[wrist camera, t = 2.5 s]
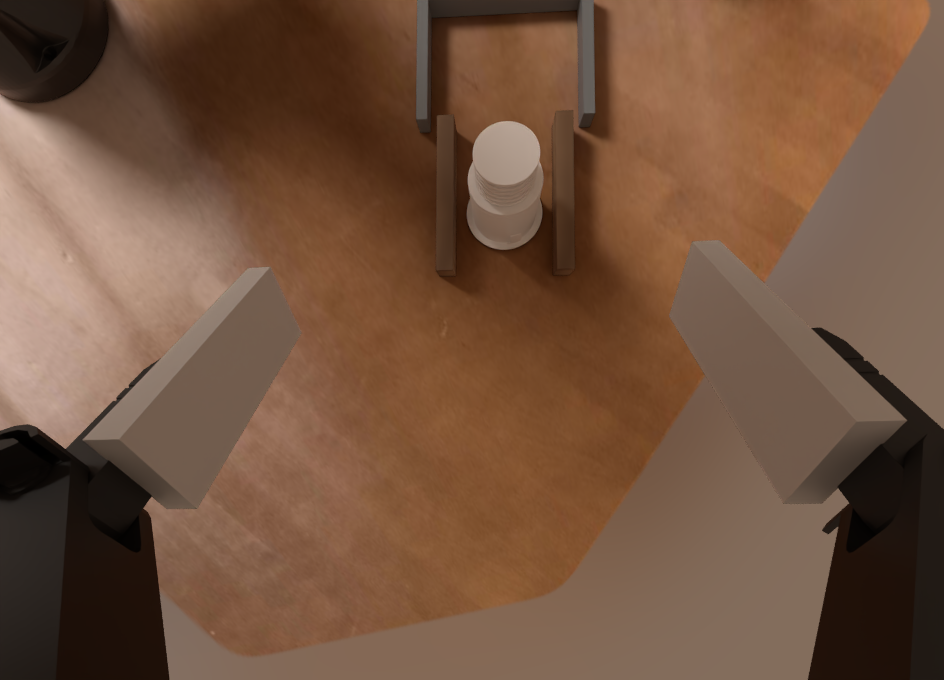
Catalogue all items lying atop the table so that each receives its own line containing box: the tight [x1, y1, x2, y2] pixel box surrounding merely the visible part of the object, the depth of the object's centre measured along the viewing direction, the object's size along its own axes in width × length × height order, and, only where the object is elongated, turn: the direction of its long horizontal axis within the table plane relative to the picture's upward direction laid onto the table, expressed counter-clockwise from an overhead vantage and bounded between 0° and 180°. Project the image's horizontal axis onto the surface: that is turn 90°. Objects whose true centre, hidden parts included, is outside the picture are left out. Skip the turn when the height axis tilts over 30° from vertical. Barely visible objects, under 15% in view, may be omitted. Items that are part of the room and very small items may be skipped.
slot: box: [436, 110, 575, 276], centre depth 35 cm, size 12×14×2 cm
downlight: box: [467, 121, 543, 250], centre depth 31 cm, size 8×7×10 cm
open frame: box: [416, 0, 595, 133], centre depth 36 cm, size 16×12×2 cm
